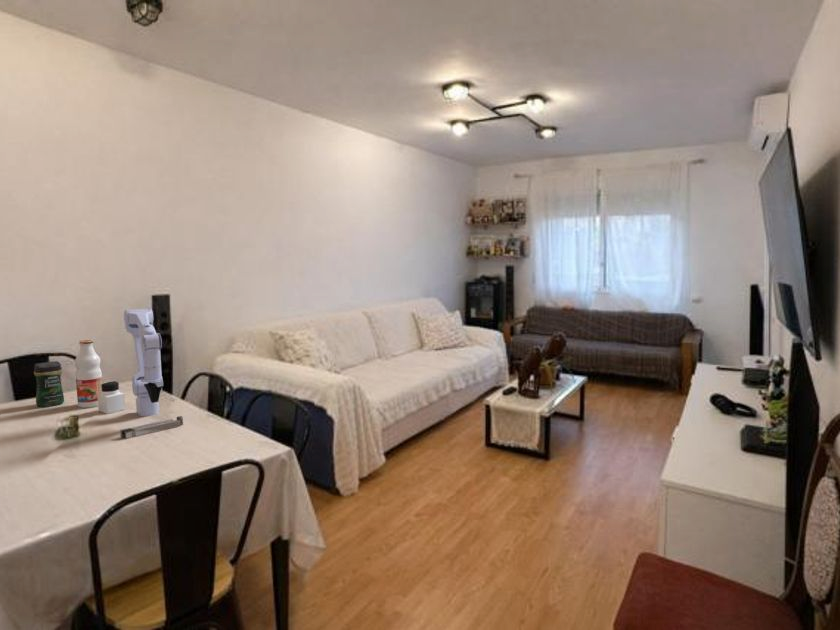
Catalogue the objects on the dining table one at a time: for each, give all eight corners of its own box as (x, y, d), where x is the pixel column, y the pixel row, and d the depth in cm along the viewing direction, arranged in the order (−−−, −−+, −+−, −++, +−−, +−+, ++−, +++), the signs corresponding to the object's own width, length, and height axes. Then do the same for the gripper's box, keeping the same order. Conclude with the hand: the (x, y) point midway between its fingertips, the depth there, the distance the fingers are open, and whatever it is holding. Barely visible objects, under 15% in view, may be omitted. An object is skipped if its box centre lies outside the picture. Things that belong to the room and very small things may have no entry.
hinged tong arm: (172, 425, 184) (171, 418, 184) (173, 425, 183) (173, 419, 183) (120, 436, 172) (120, 430, 172) (122, 438, 171) (121, 431, 171)
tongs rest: (108, 434, 179) (107, 422, 178) (172, 420, 194) (172, 409, 194) (123, 447, 166) (122, 435, 166) (191, 431, 182) (190, 419, 181)
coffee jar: (39, 409, 208) (35, 365, 206) (34, 405, 213) (30, 362, 211) (67, 403, 216) (63, 361, 213) (61, 400, 221) (57, 359, 219)
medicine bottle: (125, 409, 208) (123, 381, 206) (107, 414, 202) (104, 385, 200) (116, 406, 211) (114, 379, 210) (98, 411, 205) (96, 382, 204)
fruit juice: (109, 403, 217) (104, 339, 213) (87, 409, 208) (82, 343, 205) (94, 400, 220) (89, 338, 217) (72, 406, 211) (67, 341, 208)
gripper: (134, 365, 187) (136, 400, 188) (147, 371, 177) (149, 408, 178) (154, 362, 192) (156, 396, 193) (168, 368, 182) (170, 404, 183)
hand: (154, 402), depth 186 cm, fingers closed
